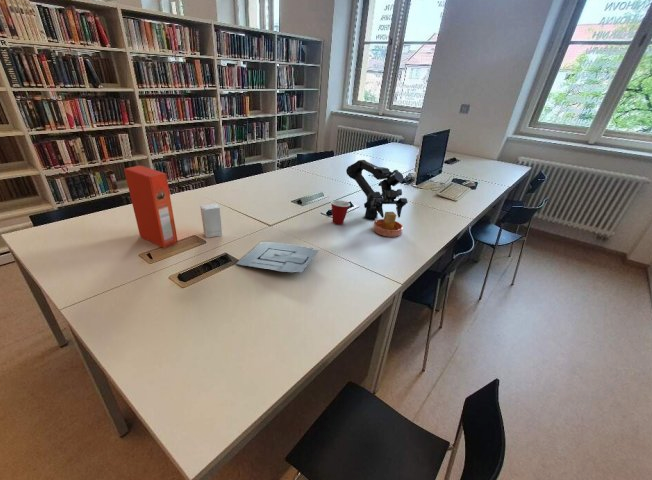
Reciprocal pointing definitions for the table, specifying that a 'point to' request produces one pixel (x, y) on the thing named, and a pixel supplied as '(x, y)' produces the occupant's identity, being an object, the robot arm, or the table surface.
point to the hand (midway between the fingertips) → (391, 217)
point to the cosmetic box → (211, 220)
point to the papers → (279, 257)
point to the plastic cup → (339, 211)
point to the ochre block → (389, 220)
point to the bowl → (390, 233)
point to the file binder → (152, 205)
